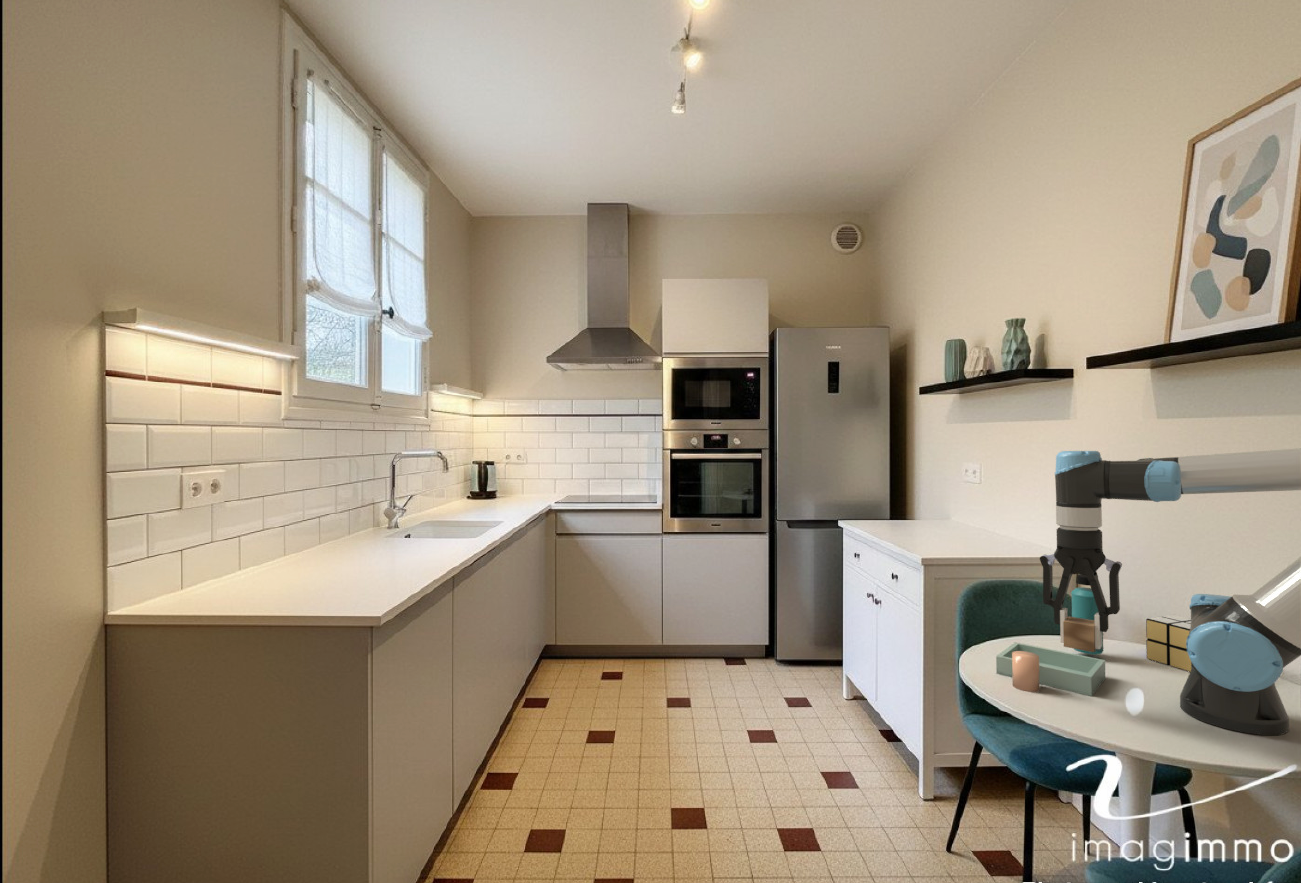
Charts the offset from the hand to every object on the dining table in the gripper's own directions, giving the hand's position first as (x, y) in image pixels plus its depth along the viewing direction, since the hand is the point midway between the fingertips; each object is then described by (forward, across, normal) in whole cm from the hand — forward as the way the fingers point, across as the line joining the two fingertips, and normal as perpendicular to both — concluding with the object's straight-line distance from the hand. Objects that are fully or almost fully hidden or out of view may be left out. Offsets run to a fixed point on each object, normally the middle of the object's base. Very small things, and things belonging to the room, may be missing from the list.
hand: (1081, 644), depth 123 cm
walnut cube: (0, 0, 0) cm, 0 cm away
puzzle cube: (+13, -13, -45) cm, 49 cm away
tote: (+13, +8, -15) cm, 21 cm away
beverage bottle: (+13, +5, -36) cm, 38 cm away
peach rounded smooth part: (+13, +11, -4) cm, 17 cm away
